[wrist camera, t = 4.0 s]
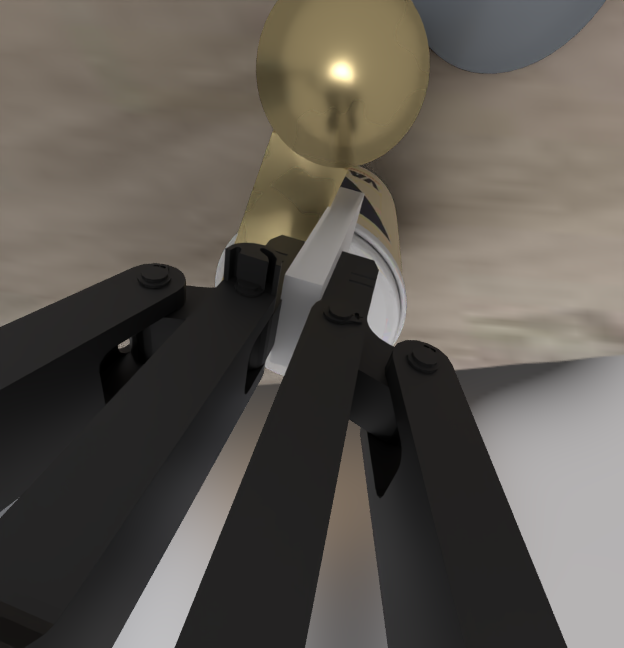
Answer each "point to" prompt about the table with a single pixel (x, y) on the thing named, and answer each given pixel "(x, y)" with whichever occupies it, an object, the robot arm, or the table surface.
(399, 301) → the coffee cup
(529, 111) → the table surface
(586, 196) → the table surface
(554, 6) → the disc
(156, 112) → the table surface
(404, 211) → the table surface
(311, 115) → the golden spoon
